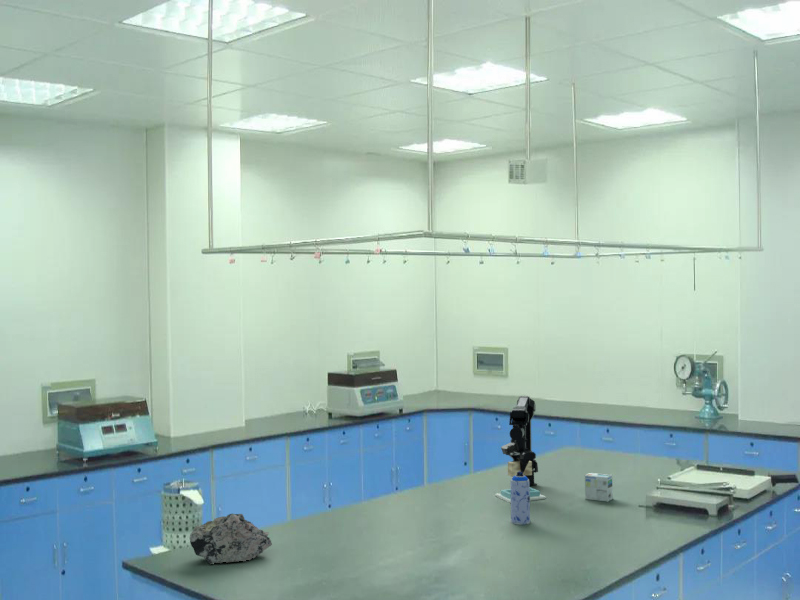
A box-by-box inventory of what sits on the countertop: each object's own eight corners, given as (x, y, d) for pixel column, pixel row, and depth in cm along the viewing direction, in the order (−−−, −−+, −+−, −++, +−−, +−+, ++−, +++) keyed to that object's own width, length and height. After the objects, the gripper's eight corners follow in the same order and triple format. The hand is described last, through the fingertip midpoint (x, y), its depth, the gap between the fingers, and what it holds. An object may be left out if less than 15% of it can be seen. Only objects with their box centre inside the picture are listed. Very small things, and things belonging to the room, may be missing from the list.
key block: (527, 473, 377) (527, 459, 377) (532, 474, 373) (531, 461, 373) (507, 475, 373) (507, 461, 373) (512, 477, 370) (512, 463, 370)
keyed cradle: (495, 495, 377) (494, 489, 377) (529, 492, 383) (529, 485, 383) (509, 502, 364) (509, 495, 364) (545, 498, 370) (545, 491, 370)
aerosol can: (530, 524, 328) (529, 474, 328) (510, 524, 330) (509, 473, 329) (531, 519, 336) (530, 470, 336) (511, 518, 337) (510, 469, 337)
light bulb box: (613, 498, 368) (612, 474, 368) (608, 502, 363) (608, 477, 363) (589, 496, 374) (589, 472, 374) (584, 499, 368) (584, 474, 368)
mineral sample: (255, 508, 307) (262, 498, 295) (270, 557, 301) (278, 550, 289) (182, 530, 295) (187, 521, 283) (196, 582, 289) (202, 575, 277)
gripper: (493, 435, 379) (494, 469, 379) (513, 441, 362) (514, 477, 362) (515, 433, 383) (515, 467, 383) (536, 439, 366) (536, 475, 366)
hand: (519, 471), depth 373 cm, fingers closed on key block, 4 cm apart
